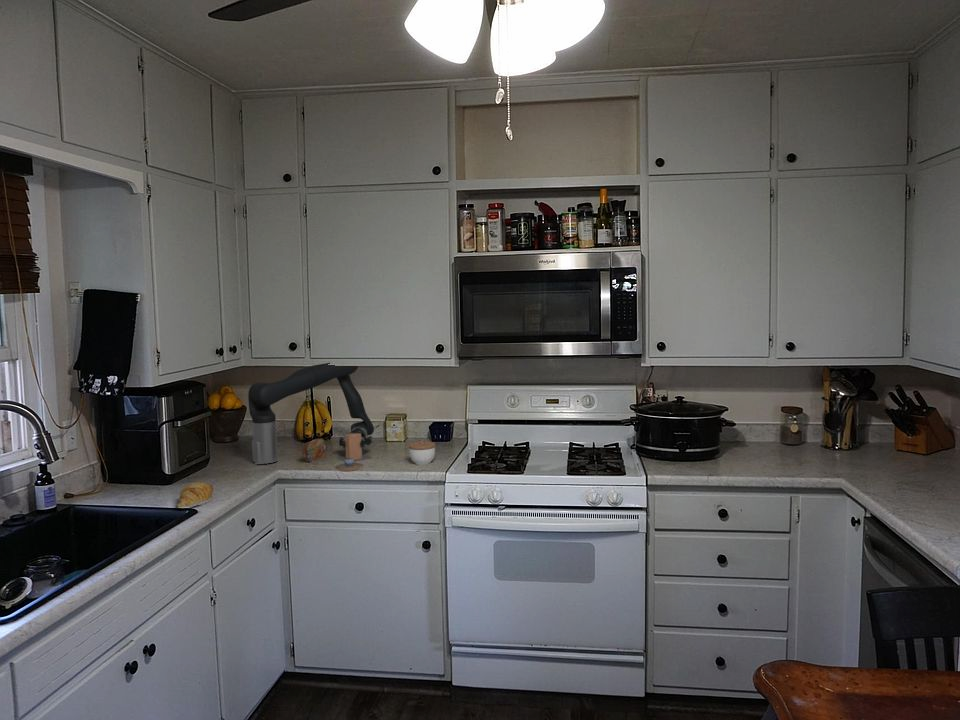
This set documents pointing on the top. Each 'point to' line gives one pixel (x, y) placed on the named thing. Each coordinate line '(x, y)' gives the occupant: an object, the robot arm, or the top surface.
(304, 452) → the mottled brown slab
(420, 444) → the lidded jar
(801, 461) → the top surface
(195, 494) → the croissant
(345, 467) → the pot lid
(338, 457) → the mat
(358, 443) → the salmon orange block
